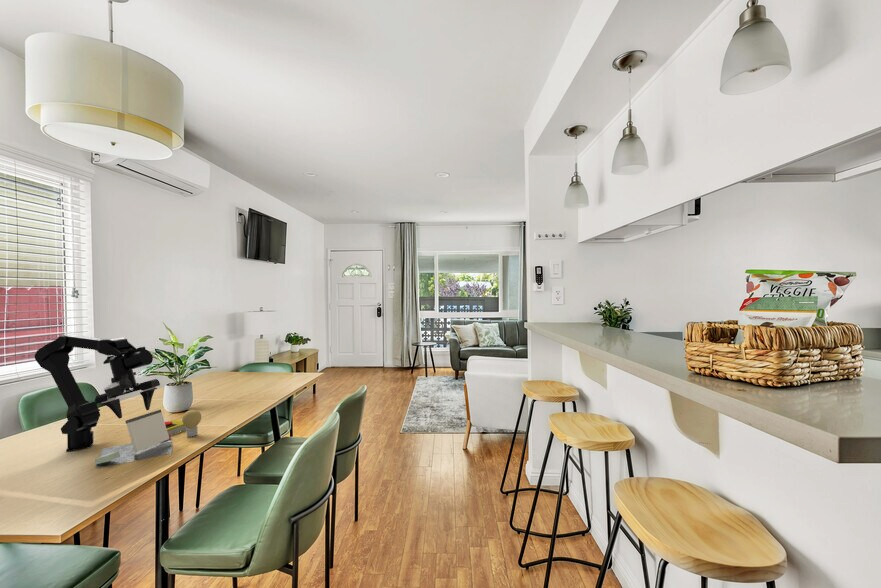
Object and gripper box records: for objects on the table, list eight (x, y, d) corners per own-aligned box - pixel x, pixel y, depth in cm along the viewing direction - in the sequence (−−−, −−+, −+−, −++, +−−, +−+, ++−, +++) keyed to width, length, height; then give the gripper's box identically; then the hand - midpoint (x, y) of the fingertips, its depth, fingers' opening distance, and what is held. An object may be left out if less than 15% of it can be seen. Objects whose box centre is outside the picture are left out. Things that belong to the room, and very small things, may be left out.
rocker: (95, 464, 128) (94, 458, 128) (108, 459, 132) (107, 453, 132) (107, 461, 127) (106, 456, 127) (120, 456, 131) (118, 451, 131)
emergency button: (141, 426, 156) (178, 415, 170) (142, 438, 156) (178, 425, 170) (159, 429, 153) (194, 417, 167) (159, 440, 153) (194, 428, 167)
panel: (95, 471, 125) (95, 463, 125) (102, 451, 141) (102, 444, 141) (173, 456, 137) (173, 448, 137) (171, 438, 153) (171, 432, 153)
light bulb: (203, 432, 160) (202, 407, 160) (199, 437, 154) (199, 411, 154) (184, 434, 158) (184, 408, 158) (180, 439, 152) (180, 413, 152)
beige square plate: (134, 452, 133) (125, 420, 133) (166, 439, 144) (157, 410, 145) (137, 451, 132) (128, 419, 133) (169, 438, 144) (160, 409, 145)
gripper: (77, 383, 135) (89, 428, 134) (136, 367, 137) (149, 411, 137) (100, 378, 146) (112, 420, 145) (155, 363, 148) (166, 404, 148)
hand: (134, 414), depth 144 cm, fingers open, 9 cm apart
